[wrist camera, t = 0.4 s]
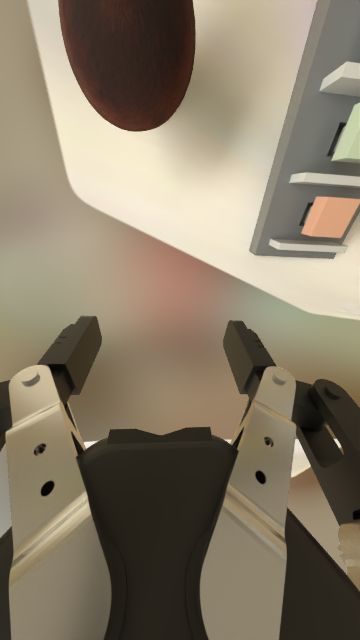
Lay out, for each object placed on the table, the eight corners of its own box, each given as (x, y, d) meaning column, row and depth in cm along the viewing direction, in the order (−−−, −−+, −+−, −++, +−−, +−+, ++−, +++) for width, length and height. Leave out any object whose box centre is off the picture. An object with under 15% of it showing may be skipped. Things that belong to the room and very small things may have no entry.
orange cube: (307, 196, 28) (328, 196, 24) (336, 198, 29) (362, 199, 25) (293, 230, 31) (310, 236, 27) (320, 232, 31) (340, 237, 28)
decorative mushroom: (195, 131, 26) (219, 76, 13) (127, 164, 27) (95, 143, 15) (166, -4, 19) (162, -332, 7) (81, 50, 21) (-37, -141, 9)
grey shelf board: (342, -88, 17) (417, -211, 12) (483, -59, 19) (608, -159, 13) (249, 250, 36) (262, 261, 31) (322, 254, 37) (348, 264, 32)
